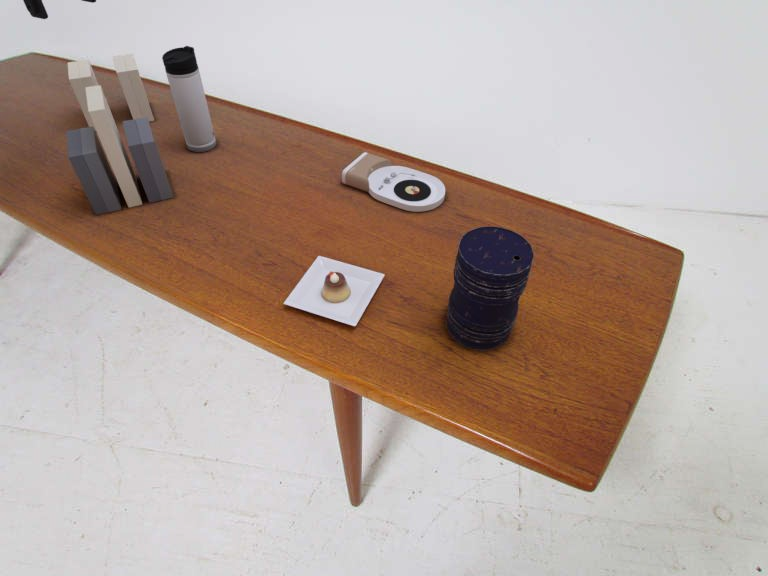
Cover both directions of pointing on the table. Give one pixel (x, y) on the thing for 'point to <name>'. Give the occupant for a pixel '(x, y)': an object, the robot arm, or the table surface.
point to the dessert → (335, 290)
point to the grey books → (98, 173)
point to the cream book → (113, 144)
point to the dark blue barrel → (488, 286)
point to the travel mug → (189, 98)
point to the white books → (129, 81)
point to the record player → (394, 183)
